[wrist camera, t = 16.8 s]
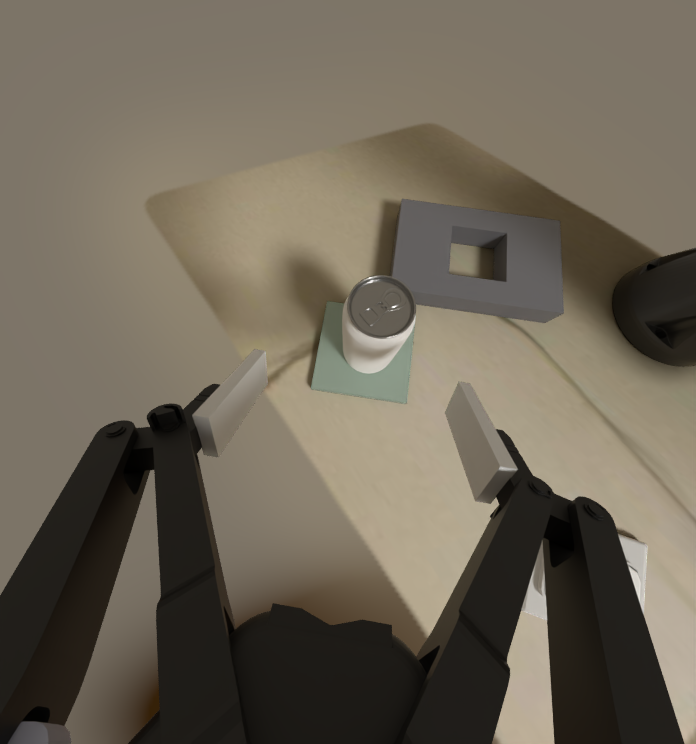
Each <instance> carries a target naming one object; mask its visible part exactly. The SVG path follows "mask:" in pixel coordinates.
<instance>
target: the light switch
mask: <svg viewBox="0 0 696 744" xmlns="http://www.w3.org/2000/svg"><path fill="white" fill-rule="evenodd" d="M618 536H619V539H620V542H621V545H622V548H623V552H624V555H625V558H626V561H627V564H628V567H629V571H630V574H631V577H632V580H633V583H634V586H635V589H636V593H637V596H638V599H639V602H640V605H641V608H642V612H643V615H644V599H645V581H646V564H647V545H646V544H645V543H643V542H640V541H638V540H635V539H632V538H629V537H626V536H623V535H620V534H618ZM545 593H546V591H545V574H544V557H543V540H542V543H541V546H540V550H539V553H538V556H537V560H536V563H535V566H534V569H533V573H532V576H531V579H530V583H529V586H528V589H527V593H526V596H525V599H524V602H523V606H522V609H521V610H522V611H523V612H526V613H529V614H531V615H534V616H536V617H539V618H541V619H544V620H546V621H547V607H546V595H545Z"/></svg>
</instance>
